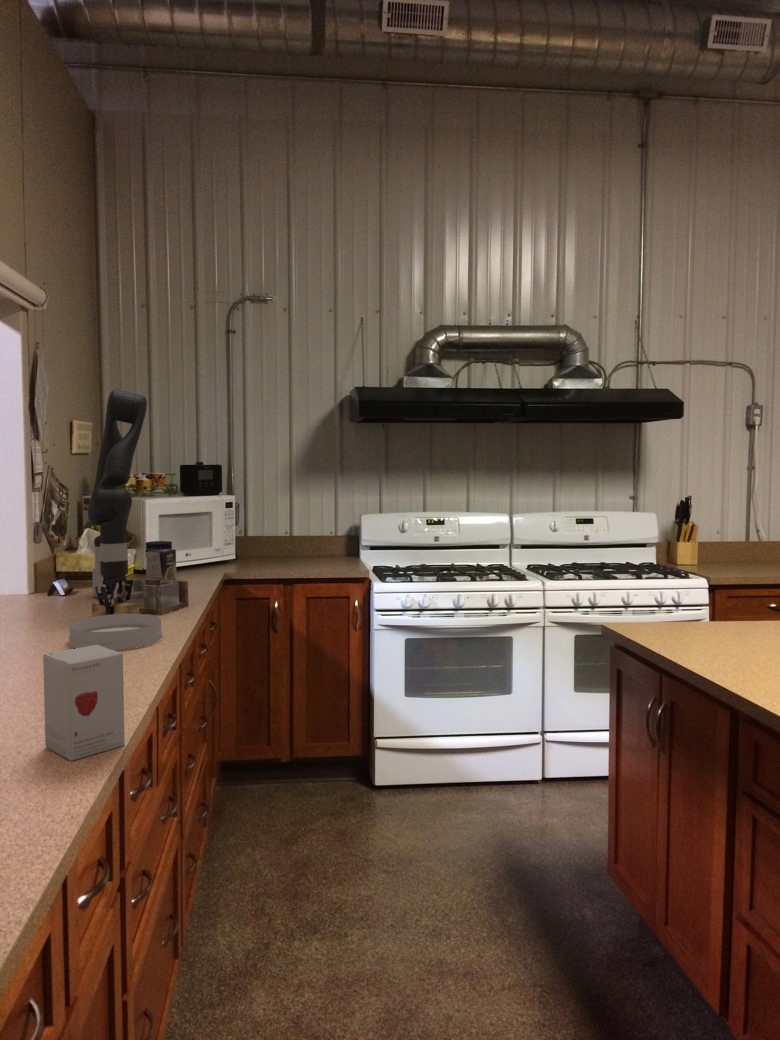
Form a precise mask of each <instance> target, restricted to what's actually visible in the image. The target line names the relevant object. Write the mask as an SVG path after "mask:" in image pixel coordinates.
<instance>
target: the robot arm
mask: <svg viewBox="0 0 780 1040" xmlns="http://www.w3.org/2000/svg"><path fill="white" fill-rule="evenodd" d="M147 402H148V401H147V398H146V396H144V395H143V394H139V393H134V392H130V391H127V390H126V391H125V390H121V389H112V390H111V392H110V393H109V396H108V398H107V403H106V410H105V420H104V431H103V436H102V442H101V446H100V450H99V456H98V461H97V467H96V473H95V479H94V480H95V481H94V485H93V489H92V492H91V496H90V500H89V503H88V507H87V519H88V521H89V523H90V524H91V525H92V526H99V535H98V536H96V537H95V538H94V541H93V547H94V548H93V550H94V568H92V570H91V571H92V594H93V595H92V597H93V598H97V600H98V601H97V602H99V604H100V605H102V606H105V608H106V615H111V614H114V607H113V606H114V600H115V599H116V601H117V602H121V603H126V601H127V600H130V597H131V591H133V580H134V579H132V580H127V577H126V576H128V574H129V552H128V545H127V544H128V543H127V526H128V521H129V516H130V512H131V508H132V505H133V498H132V494H131V492H129V491H128V489H125V488H119V487H122V486H125V485H127V484H128V483H129V482H130V481H129V480H130V477H131V471H132V466H133V465H132V464H133V460H134V459H133V458H134V456H135V453H136V452H135V451H136V448H137V446H138V443H139V439H140V436H141V431H142V429H143V424H144V422H145V418H146V413H147V407H148V403H147ZM118 422H122V423H126V424H130V425H131V426H130V428H129V430H128V431H127V433H126V434H125V435H124V436H122V434H121V433H120V429H119V425H118ZM126 592H127V596H125V595H126ZM110 595H111V596H110ZM120 597H121V598H120Z"/></svg>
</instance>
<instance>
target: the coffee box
mask: <svg viewBox="0 0 780 1040" xmlns="http://www.w3.org/2000/svg"><path fill="white" fill-rule="evenodd" d="M145 563H146V565H145V576H146V577H145V579H160V580H177V550H176V549H173V548H172V549H164V550H154V551H149V552H145Z"/></svg>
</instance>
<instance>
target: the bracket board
mask: <svg viewBox="0 0 780 1040" xmlns="http://www.w3.org/2000/svg"><path fill="white" fill-rule="evenodd" d="M126 580H133V586H132V591H131V597H130V600H127V601H126V603H136V604H139V614H142V613H153V614H152V615H156V614H163V615H165V614H164V613H166V614H168V613H167V612H169V613H171V612H170V611H172V612H174V610H175V611H178V610H177V609H179V610H181V609H180V608H182V609H185V608H187V606H188V607H189V581H188V580H177V579H176V580H160V579H146V578H136V579H133V578H128V579H127V578H126ZM110 596H111V595H110ZM125 596H127V592H126V595H125ZM120 598H121V597H120ZM114 602H117V601H116V599H115V600H114ZM184 607H185V608H184Z"/></svg>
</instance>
